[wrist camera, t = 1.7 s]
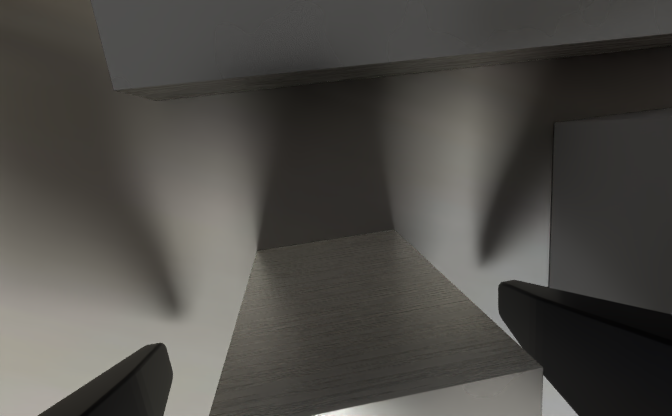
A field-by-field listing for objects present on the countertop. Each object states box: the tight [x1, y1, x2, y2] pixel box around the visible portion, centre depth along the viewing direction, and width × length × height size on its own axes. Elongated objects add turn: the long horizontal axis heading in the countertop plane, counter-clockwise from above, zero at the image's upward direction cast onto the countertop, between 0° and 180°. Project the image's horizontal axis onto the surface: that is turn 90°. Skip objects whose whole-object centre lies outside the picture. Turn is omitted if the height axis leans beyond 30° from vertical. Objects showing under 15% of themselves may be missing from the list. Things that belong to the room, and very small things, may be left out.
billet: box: [209, 230, 543, 416], centre depth 7 cm, size 4×4×6 cm
